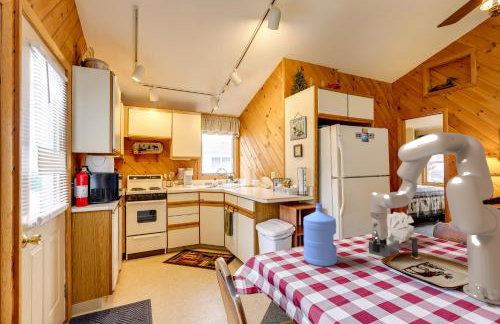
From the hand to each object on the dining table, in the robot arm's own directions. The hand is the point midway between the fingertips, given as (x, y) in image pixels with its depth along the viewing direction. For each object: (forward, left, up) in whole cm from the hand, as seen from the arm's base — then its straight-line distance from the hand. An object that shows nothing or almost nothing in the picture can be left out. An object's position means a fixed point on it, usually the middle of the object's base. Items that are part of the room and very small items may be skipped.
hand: (379, 249), depth 122 cm
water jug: (-26, +18, -4) cm, 32 cm away
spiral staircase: (+30, +2, -4) cm, 30 cm away
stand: (+11, -13, -4) cm, 17 cm away
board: (+5, 0, -4) cm, 6 cm away
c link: (+6, 0, -3) cm, 7 cm away
